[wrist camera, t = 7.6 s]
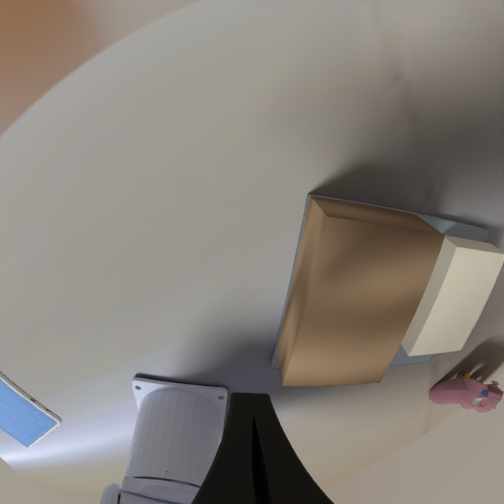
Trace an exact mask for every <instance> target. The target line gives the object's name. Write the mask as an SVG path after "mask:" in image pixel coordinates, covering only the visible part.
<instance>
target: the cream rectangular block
mask: <svg viewBox="0 0 504 504" xmlns="http://www.w3.org/2000/svg"><path fill="white" fill-rule="evenodd" d="M503 262H504V253H503V252H502V251H500V250H499V249H498V248H496V247H495V246H494V245H492V244H490V243H485V242H480V241H475V240H469V239H464V238H458V237H453V236H447V235H445V238H444V241H443V244H442V247H441V250H440V253H439V256H438V259H437V261H436V264H435V267H434V269H433V272H432V275H431V277H430V280H429V282H428V285H427V287H426V289H425V292H424V294H423V297H422V299H421V301H420V304H419V306H418V308H417V310H416V313H415V315H414V317H413V319H412V321H411V323H410V326H409V328H408V330H407V332H406V334H405V336H404V338H403V340H402V342H401V345H402V346H403V348H404V350H405V351H406V353H407V355H408V356H417V355H427V354H436V353H445V352H453V351H460V350H461V349H462V347H463V346H464V344H465V342H466V340H467V339H468V337H469V335H470V333H471V331H472V329H473V328H474V326H475V324H476V322H477V320H478V318H479V316H480V314H481V312H482V310H483V308H484V306H485V304H486V302H487V300H488V298H489V295H490V293H491V291H492V289H493V287H494V284H495V282H496V280H497V277H498V275H499V272H500V270H501V267H502V265H503Z"/></svg>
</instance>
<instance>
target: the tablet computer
mask: <svg viewBox="0 0 504 504" xmlns="http://www.w3.org/2000/svg"><path fill="white" fill-rule="evenodd" d="M61 422H62V420H61V419H60V418H59V417H58V416H56V415H55V414H54V413H52V412H51V411H49V410H47V409H46V408H45V407H44V406H42V405H41V404H39V403H38V402H37V401H35V400H34V399H33V398H31V397H30V396H29V395H27V394H26V393H25V392H23V391H22V390H21V389H20V388H18V387H17V386H16V385H15V384H14V383H12V382H11V381H10V380H9V379H8V378H6V377H5V376H4V375H3V374H2V373H1V372H0V428H1V429H2V430H3V431H5V432H6V433H7V434H9V435H10V436H11V437H13V438H14V439H16V440H17V441H19V442H20V443H22V444H23V445H25V446H26V447H31V446H32V445H34V444H35V443H36V442H38V441H39V440H40V439H42V438H43V437H44V436H45V435H47V434H48V433H50V432H51V431H52V430H54V429H55V428H56V427H57V426H58V425H60V424H61Z"/></svg>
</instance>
